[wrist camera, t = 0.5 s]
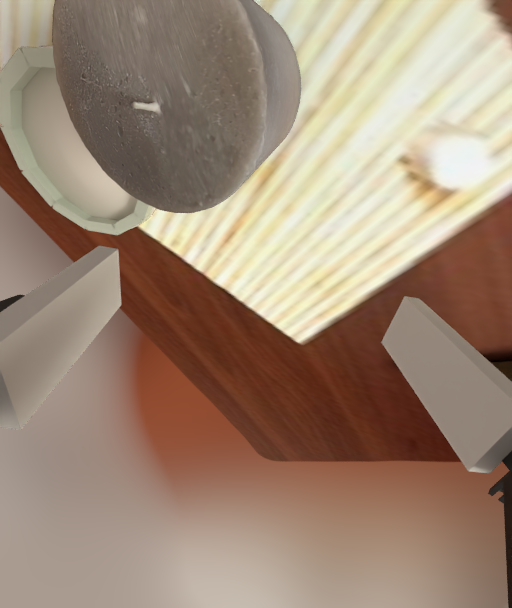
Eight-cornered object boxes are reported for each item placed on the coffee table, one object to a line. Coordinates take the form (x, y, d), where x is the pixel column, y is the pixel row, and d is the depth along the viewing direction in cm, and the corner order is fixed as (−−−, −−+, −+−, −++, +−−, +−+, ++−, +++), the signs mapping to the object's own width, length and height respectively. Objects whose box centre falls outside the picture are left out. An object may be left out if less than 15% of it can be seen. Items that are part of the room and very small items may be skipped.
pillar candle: (181, 139, 26) (54, 189, 14) (190, -17, 19) (-27, -151, 8) (281, 174, 25) (233, 252, 14) (324, 28, 19) (299, -44, 8)
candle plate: (13, -6, 22) (-12, -12, 20) (187, 128, 25) (177, 131, 23) (16, 171, 32) (0, 176, 31) (140, 252, 35) (131, 260, 33)
